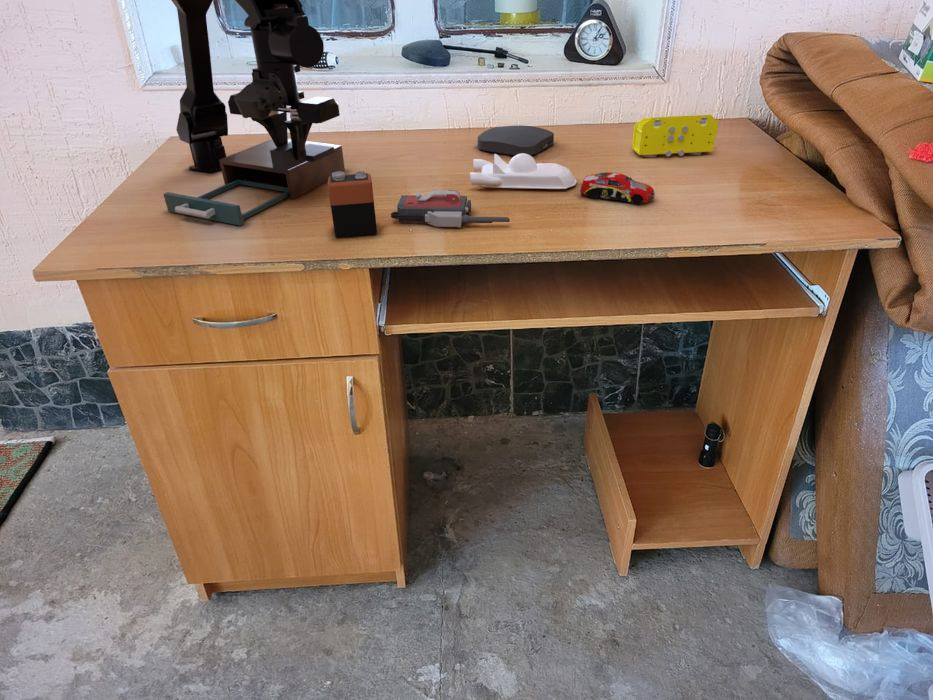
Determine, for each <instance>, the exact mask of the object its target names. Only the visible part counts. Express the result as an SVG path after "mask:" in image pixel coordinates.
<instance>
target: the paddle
mask: <svg viewBox="0 0 933 700" xmlns="http://www.w3.org/2000/svg"><path fill="white" fill-rule="evenodd" d="M332 153H334V147H330V146H322V145H314V144H307V145H305V147H304V151H303V154H302V158H301V159H299V160H296V159H295V155H294V152H293V147H292V142H289V143H287V144H284V145H282V146H280V147H277V148H275V149H272V150H270V154H271V159H272V165H273V169H274V170H281V171H287V170H289V169H291V168H293V167H295V166H298V165H300V164H302V163H304V162H306V161H312V162H315V161H317V160H320V159H322V158H324V157H326V156H328V155H330V154H332Z"/></svg>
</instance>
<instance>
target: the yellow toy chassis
mask: <svg viewBox="0 0 933 700" xmlns="http://www.w3.org/2000/svg"><path fill="white" fill-rule="evenodd" d="M718 126H719V121H718V120H717V119H716V117H714V116H713V115H712V114H694V115H693V114H692V115H691V114H690V115H674V116H673V115H671V116H653V117H644V118H642V119H640V120H639V121H638V122H636V123H635V124H634V125H633V133H632V134H633V135H632V142H631V149H632V150H634V152H635V153H636V154H637V155H638V156H642V157H644V158H656V157H658V155H665V157H669V158H670V157H671V155H672V154H677V155H678V156H680V157H682V156H684V155H685V154H687V155H690V156H700V155H702V153H708V152H709V153H710V152H714V148H715V142H716V138H717V132H718Z"/></svg>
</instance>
